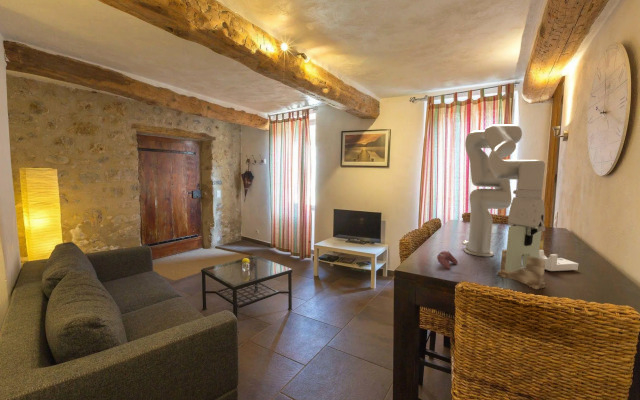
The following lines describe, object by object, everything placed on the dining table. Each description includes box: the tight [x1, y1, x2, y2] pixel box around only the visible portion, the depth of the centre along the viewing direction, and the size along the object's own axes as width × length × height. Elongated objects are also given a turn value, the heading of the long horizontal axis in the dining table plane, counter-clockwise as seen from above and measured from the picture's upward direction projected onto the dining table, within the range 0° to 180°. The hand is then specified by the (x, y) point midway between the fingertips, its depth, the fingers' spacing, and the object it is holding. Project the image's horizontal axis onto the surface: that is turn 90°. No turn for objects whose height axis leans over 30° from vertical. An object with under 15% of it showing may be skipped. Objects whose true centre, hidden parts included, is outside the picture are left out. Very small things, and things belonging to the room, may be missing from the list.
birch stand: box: [497, 248, 546, 290], centre depth 107 cm, size 14×5×10 cm, turn 24°
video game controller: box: [436, 250, 458, 270], centre depth 123 cm, size 10×5×7 cm, turn 136°
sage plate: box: [505, 225, 541, 272], centre depth 105 cm, size 2×16×16 cm, turn 114°
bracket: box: [539, 249, 579, 272], centre depth 120 cm, size 13×7×8 cm, turn 99°
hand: (523, 244), depth 105 cm, fingers closed on sage plate, 2 cm apart
